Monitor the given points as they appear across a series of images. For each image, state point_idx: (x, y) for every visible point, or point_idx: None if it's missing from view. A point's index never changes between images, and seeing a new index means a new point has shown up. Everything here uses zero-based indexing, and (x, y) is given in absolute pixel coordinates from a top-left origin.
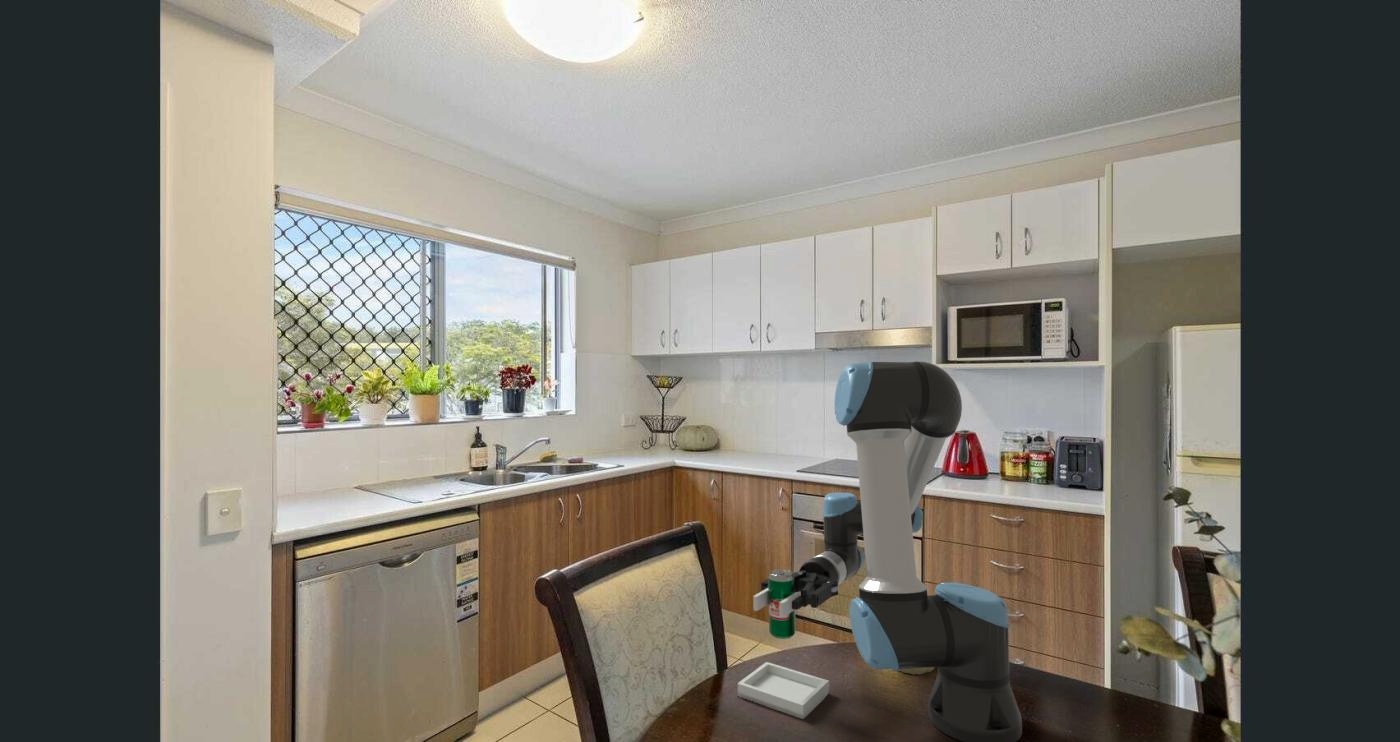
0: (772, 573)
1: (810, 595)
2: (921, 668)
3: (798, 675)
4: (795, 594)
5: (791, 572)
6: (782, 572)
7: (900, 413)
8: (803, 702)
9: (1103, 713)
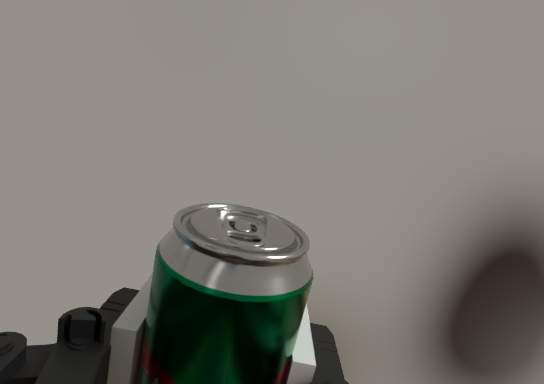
0: (281, 225)
1: (22, 374)
2: None
3: None
4: (135, 304)
5: (182, 225)
6: (242, 238)
7: None
8: None
9: None
